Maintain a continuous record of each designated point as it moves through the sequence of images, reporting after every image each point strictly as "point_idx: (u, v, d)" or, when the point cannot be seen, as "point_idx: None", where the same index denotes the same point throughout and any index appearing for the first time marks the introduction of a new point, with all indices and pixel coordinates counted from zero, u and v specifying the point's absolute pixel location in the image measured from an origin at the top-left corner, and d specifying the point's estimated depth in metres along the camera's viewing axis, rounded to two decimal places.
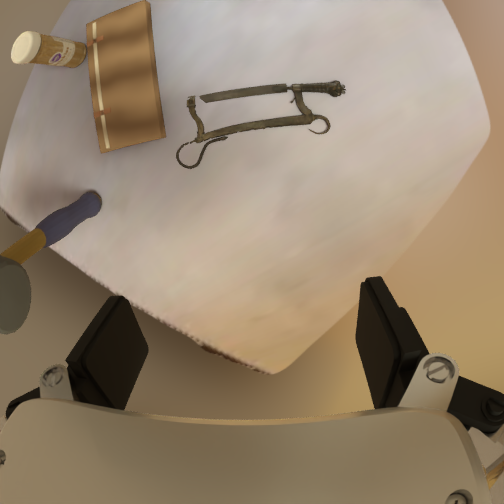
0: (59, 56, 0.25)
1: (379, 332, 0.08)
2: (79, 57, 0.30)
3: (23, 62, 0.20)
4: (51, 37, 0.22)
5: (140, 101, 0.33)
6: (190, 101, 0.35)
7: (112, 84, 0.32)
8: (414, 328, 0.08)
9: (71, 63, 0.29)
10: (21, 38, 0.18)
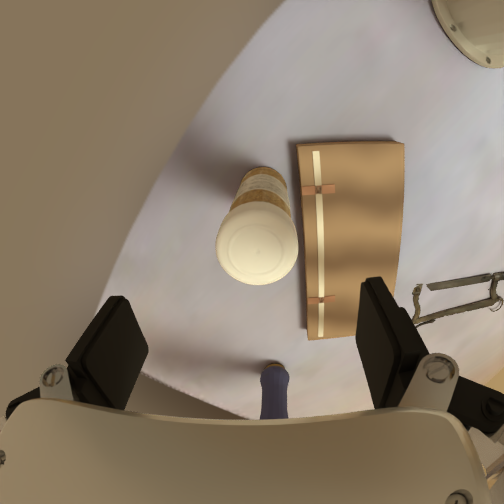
0: None
1: (379, 332, 0.08)
2: None
3: None
4: (284, 202, 0.19)
5: None
6: (417, 290, 0.31)
7: (342, 268, 0.29)
8: (414, 328, 0.08)
9: None
10: (256, 229, 0.15)
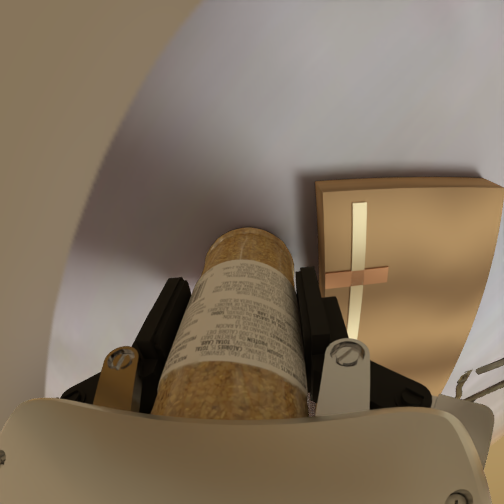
0: None
1: None
2: None
3: None
4: (294, 394, 0.06)
5: None
6: (465, 377, 0.19)
7: None
8: (340, 315, 0.09)
9: None
10: None
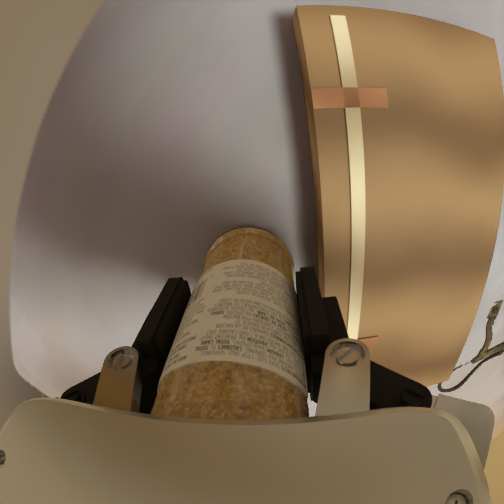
0: None
1: None
2: None
3: None
4: (294, 394, 0.06)
5: (447, 327, 0.14)
6: (495, 310, 0.15)
7: (398, 282, 0.13)
8: (340, 315, 0.09)
9: None
10: None
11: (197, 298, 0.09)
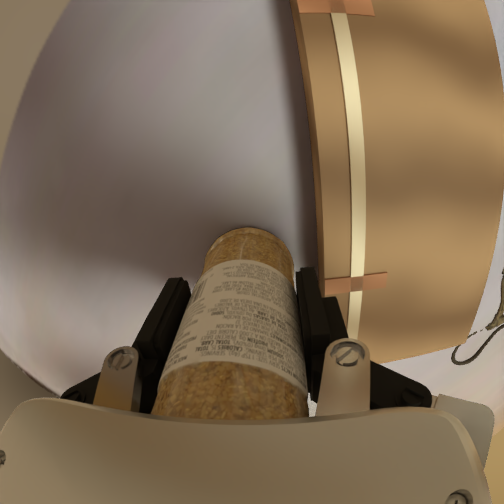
0: None
1: None
2: None
3: None
4: (294, 394, 0.06)
5: (463, 270, 0.12)
6: None
7: (406, 201, 0.11)
8: (340, 315, 0.09)
9: None
10: None
11: (197, 298, 0.09)
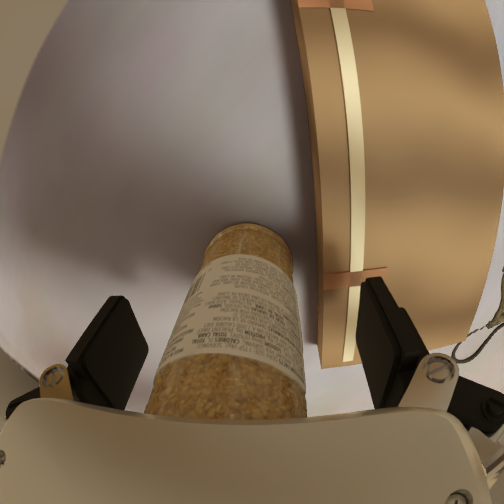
0: None
1: (379, 332, 0.08)
2: None
3: None
4: (291, 388, 0.06)
5: (463, 266, 0.12)
6: None
7: (406, 196, 0.11)
8: (414, 328, 0.08)
9: None
10: None
11: (195, 292, 0.09)
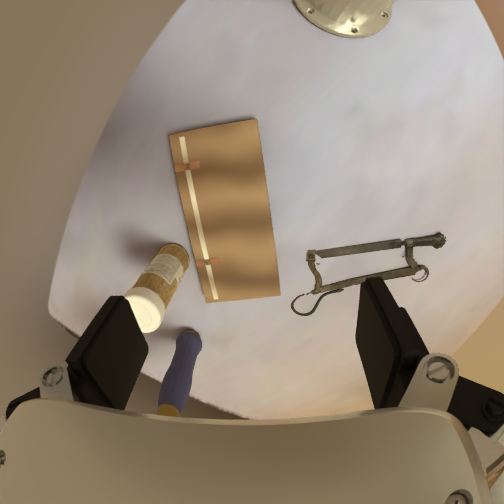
0: None
1: (379, 332, 0.08)
2: None
3: None
4: (164, 281, 0.30)
5: (257, 257, 0.36)
6: (311, 256, 0.37)
7: (219, 231, 0.34)
8: (414, 328, 0.08)
9: None
10: (135, 304, 0.26)
11: None
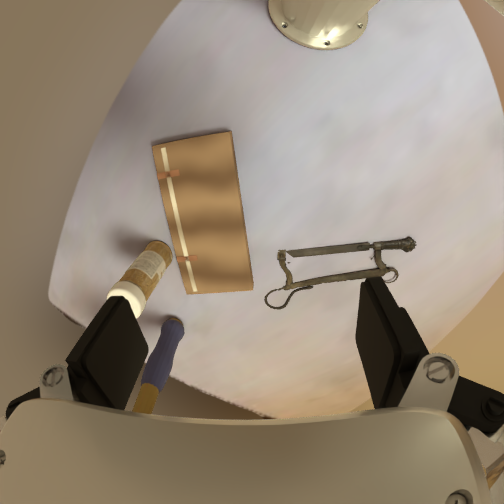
0: None
1: (379, 332, 0.08)
2: (167, 266, 0.41)
3: None
4: (146, 276, 0.34)
5: (231, 255, 0.39)
6: (281, 255, 0.41)
7: (196, 232, 0.38)
8: (414, 328, 0.08)
9: None
10: None
11: None
